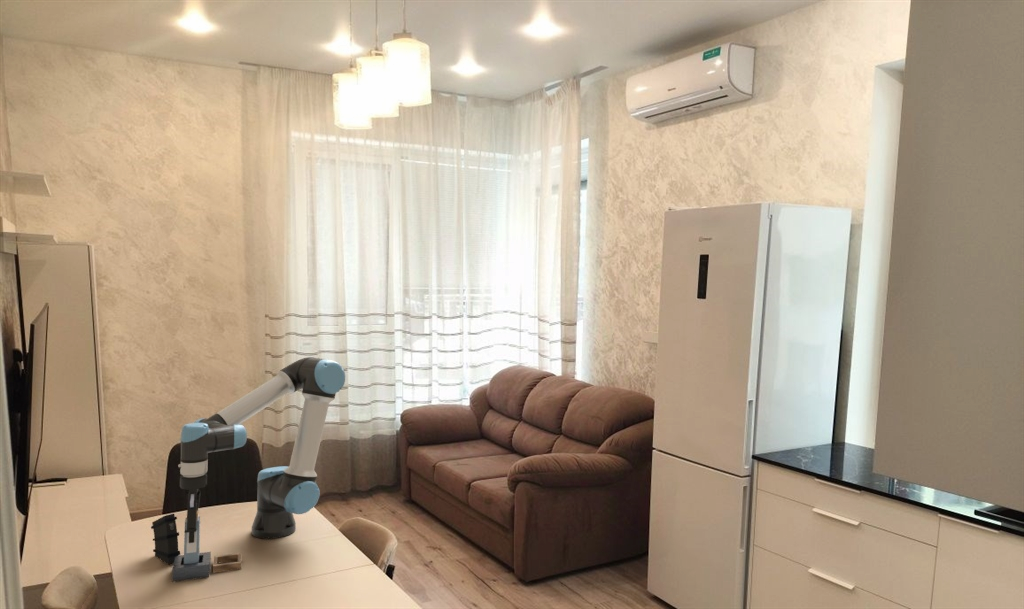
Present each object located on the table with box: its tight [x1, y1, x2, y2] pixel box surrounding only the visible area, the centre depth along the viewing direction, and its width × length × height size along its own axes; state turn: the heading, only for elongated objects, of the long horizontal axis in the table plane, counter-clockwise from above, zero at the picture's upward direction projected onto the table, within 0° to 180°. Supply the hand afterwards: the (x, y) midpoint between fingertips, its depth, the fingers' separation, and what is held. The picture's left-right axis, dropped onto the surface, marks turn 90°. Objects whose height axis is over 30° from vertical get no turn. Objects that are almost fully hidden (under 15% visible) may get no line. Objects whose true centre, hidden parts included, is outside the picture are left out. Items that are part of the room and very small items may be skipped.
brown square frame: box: [212, 552, 242, 573], centre depth 203 cm, size 8×8×2 cm
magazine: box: [150, 513, 181, 566], centre depth 207 cm, size 4×13×15 cm, turn 51°
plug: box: [183, 510, 201, 564], centre depth 197 cm, size 4×4×15 cm
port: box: [171, 551, 212, 583], centre depth 198 cm, size 10×10×4 cm
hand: (191, 549), depth 197 cm, fingers closed on plug, 4 cm apart
